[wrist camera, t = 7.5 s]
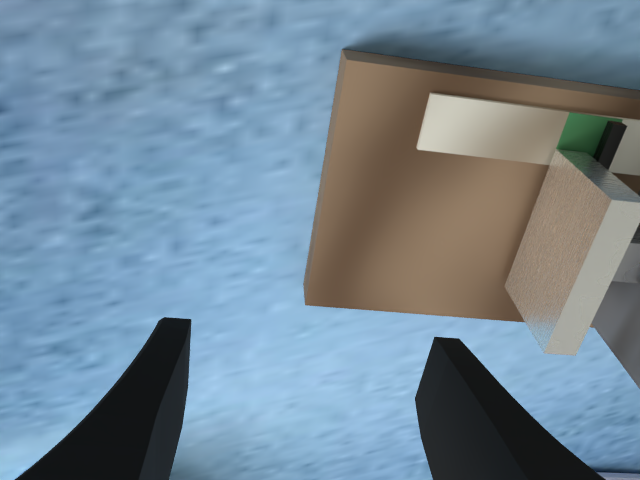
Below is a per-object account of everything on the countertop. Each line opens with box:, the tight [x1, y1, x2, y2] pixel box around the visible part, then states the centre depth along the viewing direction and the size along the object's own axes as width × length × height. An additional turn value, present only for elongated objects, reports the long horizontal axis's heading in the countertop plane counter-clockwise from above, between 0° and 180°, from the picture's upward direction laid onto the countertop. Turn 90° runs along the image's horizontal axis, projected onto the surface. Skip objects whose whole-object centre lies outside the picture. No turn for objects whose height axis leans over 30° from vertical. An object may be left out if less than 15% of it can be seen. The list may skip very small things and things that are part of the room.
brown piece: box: [303, 49, 640, 388], centre depth 21 cm, size 20×10×6 cm, turn 82°
